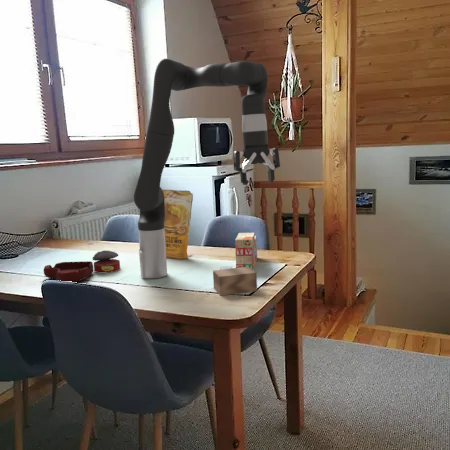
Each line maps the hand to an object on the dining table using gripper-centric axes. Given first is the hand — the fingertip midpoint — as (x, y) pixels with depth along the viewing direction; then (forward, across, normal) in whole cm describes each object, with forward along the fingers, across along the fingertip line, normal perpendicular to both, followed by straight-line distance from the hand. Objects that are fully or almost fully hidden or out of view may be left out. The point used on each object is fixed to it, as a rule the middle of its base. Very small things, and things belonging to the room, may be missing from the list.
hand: (258, 183), depth 152 cm
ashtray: (+32, -59, +40) cm, 78 cm away
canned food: (+32, -47, +48) cm, 74 cm away
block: (+31, -11, +9) cm, 34 cm away
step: (+33, -9, +3) cm, 35 cm away
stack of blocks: (+34, +5, +32) cm, 46 cm away
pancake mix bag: (+32, -18, +58) cm, 69 cm away
